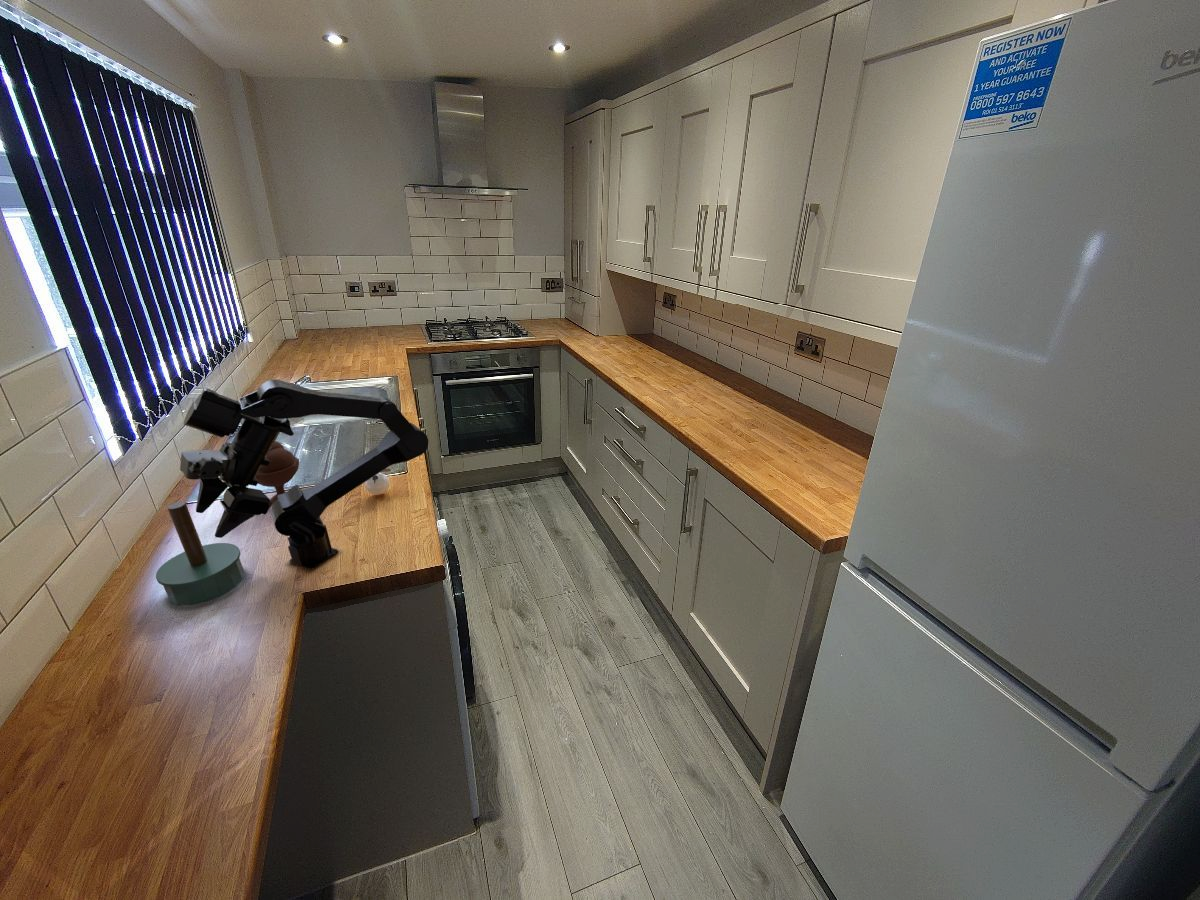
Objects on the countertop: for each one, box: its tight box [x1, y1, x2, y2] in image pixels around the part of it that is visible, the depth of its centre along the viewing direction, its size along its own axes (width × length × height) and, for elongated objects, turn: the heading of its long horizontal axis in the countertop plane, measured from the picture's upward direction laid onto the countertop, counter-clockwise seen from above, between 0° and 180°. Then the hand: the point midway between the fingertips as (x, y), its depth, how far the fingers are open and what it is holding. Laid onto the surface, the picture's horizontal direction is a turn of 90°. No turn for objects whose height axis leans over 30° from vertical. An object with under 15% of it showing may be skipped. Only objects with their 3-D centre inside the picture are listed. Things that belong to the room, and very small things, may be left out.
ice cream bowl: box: [255, 440, 300, 504], centre depth 125 cm, size 11×11×15 cm
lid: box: [155, 501, 241, 587], centre depth 93 cm, size 13×13×13 cm
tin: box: [163, 557, 246, 606], centre depth 97 cm, size 12×12×5 cm
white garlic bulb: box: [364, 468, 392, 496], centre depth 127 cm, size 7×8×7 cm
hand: (208, 524), depth 92 cm, fingers open, 9 cm apart
